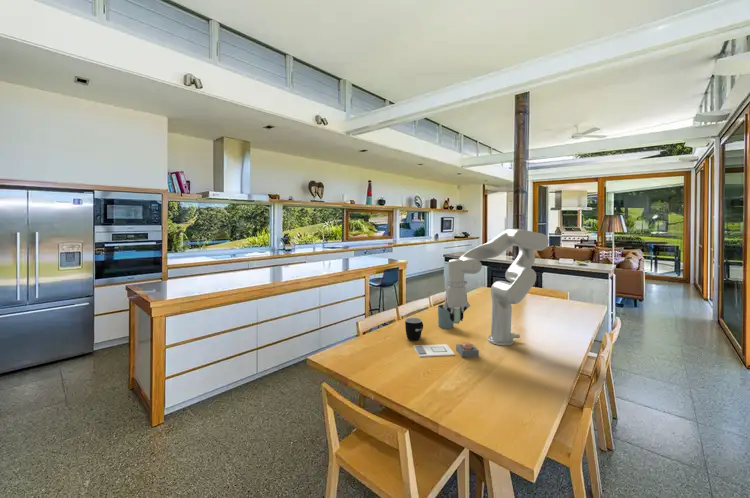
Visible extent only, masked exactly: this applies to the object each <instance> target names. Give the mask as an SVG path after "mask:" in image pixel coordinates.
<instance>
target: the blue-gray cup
mask: <svg viewBox="0 0 750 498" xmlns="http://www.w3.org/2000/svg"><path fill="white" fill-rule="evenodd" d="M443 305H444V304H439V305H438V306H437V313H438V314H437V316H438V317H437V318H438V319H437V321H438V322H437V323H438V324H437V326H438V328H441V329H443V330H450V329H454V324H455V323H454V321H453V322H452V321H451V319H450V312H449V311H448V310H446V309H444V308H443ZM447 307H448V305H447ZM448 308H449V307H448Z"/></svg>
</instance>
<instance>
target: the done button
mask: <svg viewBox="0 0 750 498" xmlns="http://www.w3.org/2000/svg"><path fill="white" fill-rule="evenodd" d="M462 344H463V347H462V348H463V349H464V350H469V349H472V344H473V343H471V342H463V343H462Z"/></svg>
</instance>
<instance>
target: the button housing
mask: <svg viewBox="0 0 750 498" xmlns="http://www.w3.org/2000/svg"><path fill="white" fill-rule="evenodd" d="M471 344H472V349H469V350H464V349H463V348H462V347H463V343H459V344H455V349H456V350H455V352H457V353H458V355H459V356H460V357H461V358H476V357H478V358H479V355H480V354H479V353H480V350H479V349H478V348H477V347H476V346H475V345H474V344H473V343H471Z"/></svg>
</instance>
